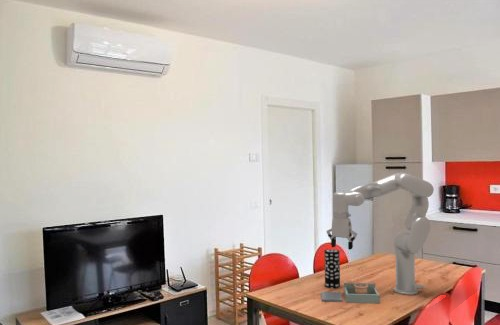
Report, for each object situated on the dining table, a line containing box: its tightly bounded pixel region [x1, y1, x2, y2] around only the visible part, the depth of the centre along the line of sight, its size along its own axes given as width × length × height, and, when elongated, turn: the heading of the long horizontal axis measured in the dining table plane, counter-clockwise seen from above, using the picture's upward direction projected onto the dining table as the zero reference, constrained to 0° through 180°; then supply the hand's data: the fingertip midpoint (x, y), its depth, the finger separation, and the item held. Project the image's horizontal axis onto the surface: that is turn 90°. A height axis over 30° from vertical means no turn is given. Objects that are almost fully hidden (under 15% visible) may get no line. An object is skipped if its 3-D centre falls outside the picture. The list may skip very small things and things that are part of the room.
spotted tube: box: [324, 248, 341, 290], centre depth 230 cm, size 8×8×20 cm
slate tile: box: [320, 291, 343, 303], centre depth 211 cm, size 10×12×1 cm
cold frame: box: [343, 282, 381, 304], centre depth 209 cm, size 16×13×6 cm
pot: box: [354, 282, 368, 294], centre depth 209 cm, size 7×7×7 cm
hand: (341, 248), depth 216 cm, fingers open, 9 cm apart
